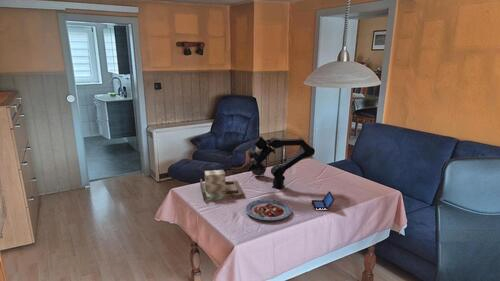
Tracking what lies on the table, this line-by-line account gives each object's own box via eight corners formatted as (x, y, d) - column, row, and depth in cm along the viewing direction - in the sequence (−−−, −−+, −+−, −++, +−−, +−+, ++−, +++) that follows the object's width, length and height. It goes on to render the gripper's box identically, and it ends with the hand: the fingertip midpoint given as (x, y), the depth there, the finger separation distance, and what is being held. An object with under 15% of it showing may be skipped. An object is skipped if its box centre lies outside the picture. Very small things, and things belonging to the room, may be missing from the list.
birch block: (223, 185, 211) (223, 169, 208) (225, 190, 203) (225, 174, 200) (205, 187, 208) (204, 171, 205) (206, 192, 200) (205, 175, 197)
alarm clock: (266, 175, 237) (266, 154, 233) (265, 178, 232) (266, 156, 228) (251, 174, 238) (251, 153, 234) (250, 177, 233) (250, 155, 229)
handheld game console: (311, 201, 195) (311, 190, 194) (329, 202, 195) (329, 190, 193) (314, 211, 183) (315, 199, 181) (333, 211, 183) (334, 199, 181)
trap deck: (237, 183, 220) (237, 176, 219) (244, 197, 200) (244, 188, 198) (200, 186, 214) (200, 179, 213) (203, 200, 194) (203, 192, 192)
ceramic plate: (272, 198, 199) (273, 194, 198) (300, 215, 178) (301, 210, 177) (236, 208, 185) (236, 203, 184) (262, 228, 164) (262, 223, 163)
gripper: (251, 142, 213) (235, 159, 214) (259, 149, 196) (241, 168, 196) (263, 152, 217) (247, 169, 217) (271, 161, 200) (254, 179, 200)
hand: (247, 171), depth 208 cm, fingers closed
